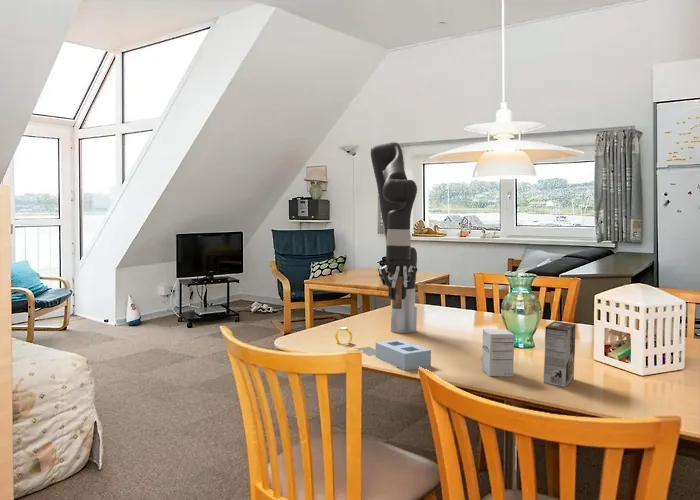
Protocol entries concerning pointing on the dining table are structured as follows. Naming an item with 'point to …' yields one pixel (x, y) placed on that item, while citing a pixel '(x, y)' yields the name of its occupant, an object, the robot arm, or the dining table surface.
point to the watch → (343, 330)
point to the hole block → (403, 354)
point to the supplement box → (498, 352)
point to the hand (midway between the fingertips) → (397, 299)
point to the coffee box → (559, 353)
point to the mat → (368, 350)
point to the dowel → (398, 294)
